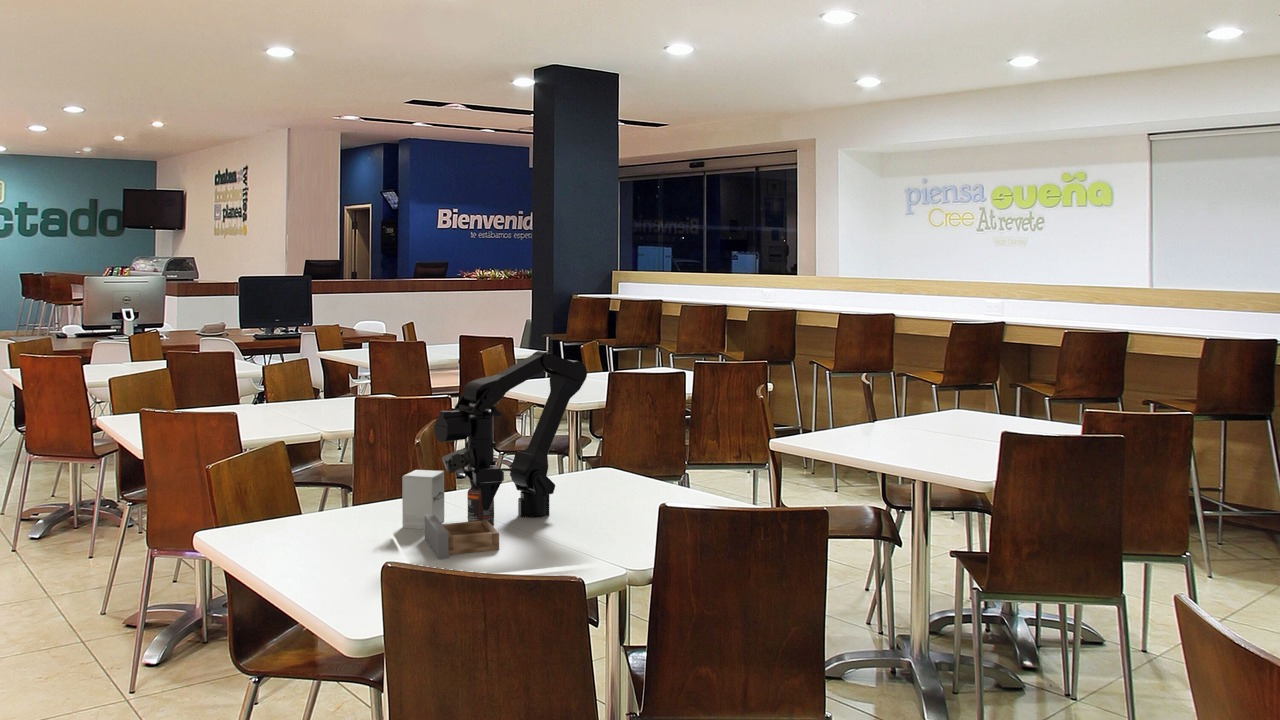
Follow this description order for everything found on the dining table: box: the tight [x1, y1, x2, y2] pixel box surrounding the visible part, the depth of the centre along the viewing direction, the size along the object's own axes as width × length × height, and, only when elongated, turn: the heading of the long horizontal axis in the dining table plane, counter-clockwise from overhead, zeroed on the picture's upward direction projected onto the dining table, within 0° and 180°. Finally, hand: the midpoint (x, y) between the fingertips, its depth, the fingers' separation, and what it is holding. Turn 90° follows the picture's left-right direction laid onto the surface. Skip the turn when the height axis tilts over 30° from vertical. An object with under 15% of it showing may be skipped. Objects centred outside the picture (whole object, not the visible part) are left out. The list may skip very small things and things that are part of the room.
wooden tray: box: [441, 520, 500, 556], centre depth 210 cm, size 11×11×4 cm
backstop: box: [424, 514, 449, 560], centre depth 211 cm, size 21×16×6 cm
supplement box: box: [401, 469, 445, 530], centre depth 226 cm, size 7×7×13 cm
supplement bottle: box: [467, 479, 495, 527], centre depth 226 cm, size 6×6×11 cm
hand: (481, 505), depth 226 cm, fingers open, 9 cm apart
